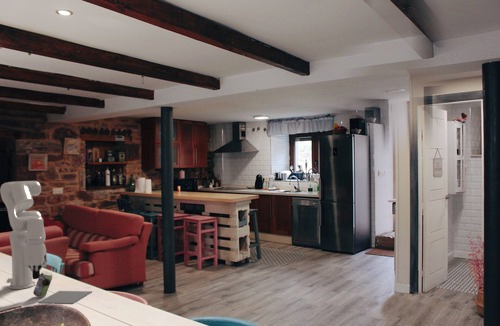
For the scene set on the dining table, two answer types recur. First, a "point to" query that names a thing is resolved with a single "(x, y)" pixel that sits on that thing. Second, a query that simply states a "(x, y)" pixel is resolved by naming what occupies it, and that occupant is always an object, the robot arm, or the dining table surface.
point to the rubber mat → (65, 297)
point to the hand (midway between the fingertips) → (36, 278)
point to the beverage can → (43, 284)
